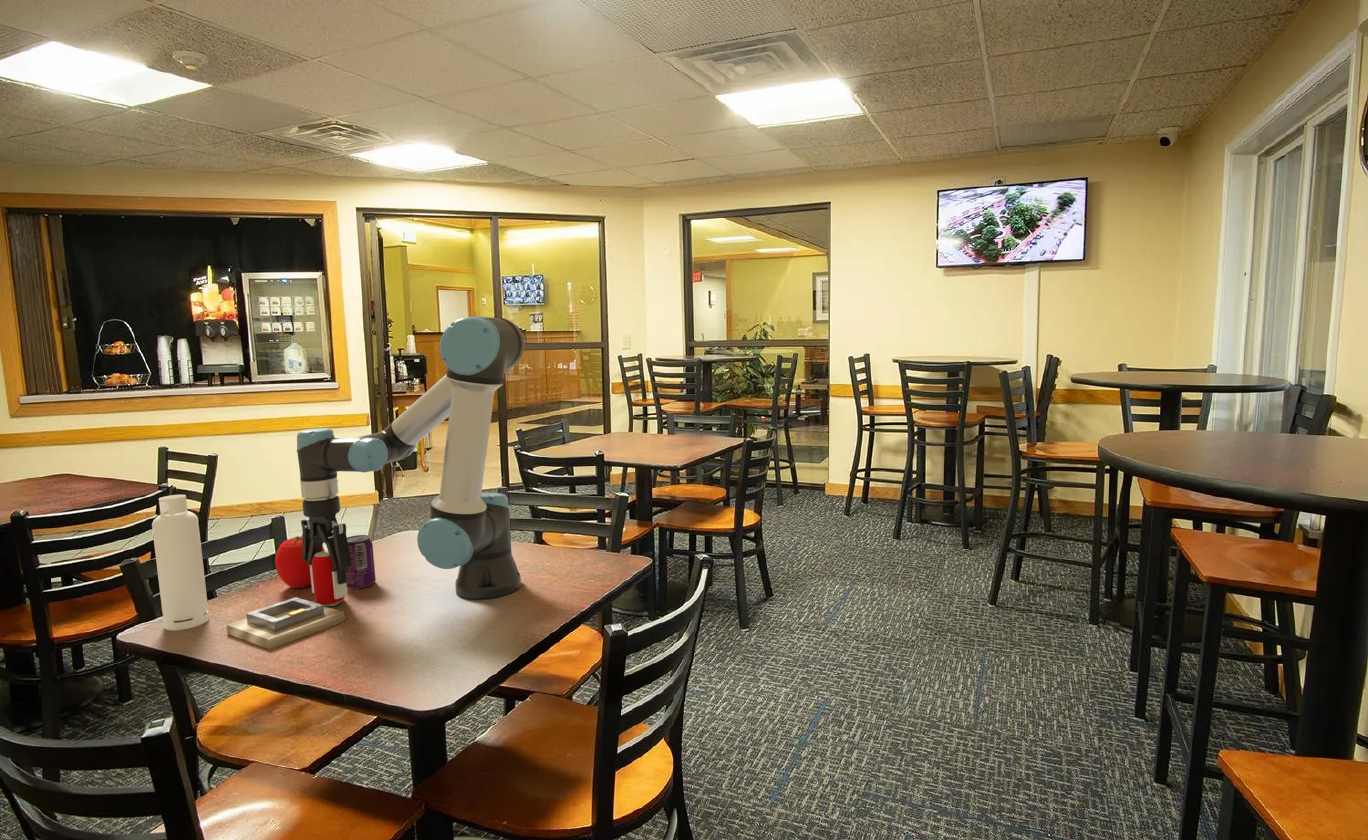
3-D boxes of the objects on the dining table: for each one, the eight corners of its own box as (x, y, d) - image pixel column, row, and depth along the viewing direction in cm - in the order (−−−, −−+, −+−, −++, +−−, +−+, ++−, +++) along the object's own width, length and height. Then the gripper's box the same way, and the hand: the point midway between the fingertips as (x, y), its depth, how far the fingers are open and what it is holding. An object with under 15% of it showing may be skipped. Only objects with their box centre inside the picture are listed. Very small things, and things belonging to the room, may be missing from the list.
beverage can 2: (381, 580, 182) (377, 534, 181) (366, 590, 175) (362, 542, 174) (354, 580, 183) (350, 534, 182) (338, 590, 176) (334, 542, 175)
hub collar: (324, 614, 155) (323, 603, 155) (275, 631, 146) (273, 620, 146) (296, 606, 161) (295, 596, 160) (247, 622, 152) (246, 612, 151)
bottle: (217, 617, 161) (204, 493, 157) (182, 632, 153) (167, 502, 150) (191, 614, 163) (177, 492, 160) (155, 628, 156) (139, 500, 152)
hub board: (344, 620, 156) (343, 612, 156) (269, 649, 143) (268, 639, 142) (302, 608, 165) (301, 599, 164) (227, 634, 151) (226, 624, 151)
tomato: (294, 579, 186) (289, 530, 184) (335, 578, 185) (331, 529, 184) (267, 594, 175) (262, 543, 173) (311, 593, 174) (306, 542, 173)
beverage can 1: (314, 610, 163) (309, 558, 162) (316, 601, 169) (311, 551, 167) (344, 605, 166) (340, 554, 164) (345, 597, 171) (341, 547, 170)
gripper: (363, 497, 162) (372, 596, 165) (310, 490, 173) (318, 582, 176) (332, 504, 156) (341, 607, 158) (278, 496, 167) (288, 592, 169)
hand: (329, 594), depth 167 cm, fingers open, 8 cm apart
